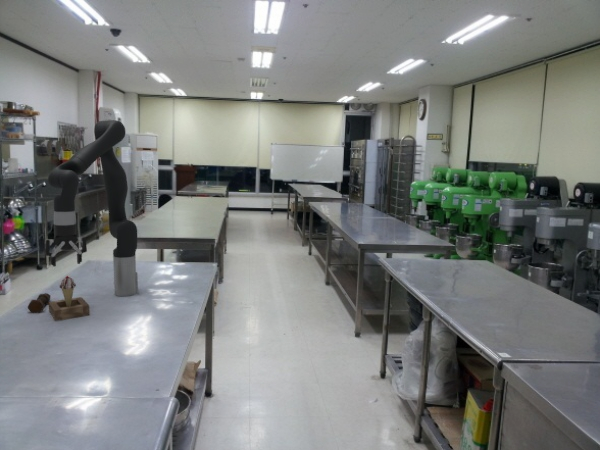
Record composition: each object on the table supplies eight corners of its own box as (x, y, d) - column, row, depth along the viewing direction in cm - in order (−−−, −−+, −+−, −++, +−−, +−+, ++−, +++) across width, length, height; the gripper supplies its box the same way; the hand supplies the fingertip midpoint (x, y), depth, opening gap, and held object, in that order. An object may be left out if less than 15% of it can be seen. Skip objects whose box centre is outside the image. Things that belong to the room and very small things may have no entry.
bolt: (49, 305, 198) (37, 316, 184) (37, 299, 197) (25, 310, 183) (56, 293, 199) (45, 303, 184) (44, 287, 197) (32, 297, 183)
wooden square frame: (81, 306, 192) (81, 297, 192) (89, 315, 183) (89, 305, 182) (49, 311, 185) (48, 301, 185) (55, 321, 176) (54, 310, 175)
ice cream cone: (64, 310, 187) (62, 273, 184) (79, 311, 187) (77, 274, 185) (58, 316, 181) (56, 277, 179) (73, 316, 182) (72, 278, 179)
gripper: (82, 220, 186) (84, 260, 188) (42, 222, 177) (43, 264, 180) (87, 223, 180) (88, 264, 182) (45, 225, 171) (47, 269, 174)
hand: (66, 264), depth 181 cm, fingers open, 8 cm apart
